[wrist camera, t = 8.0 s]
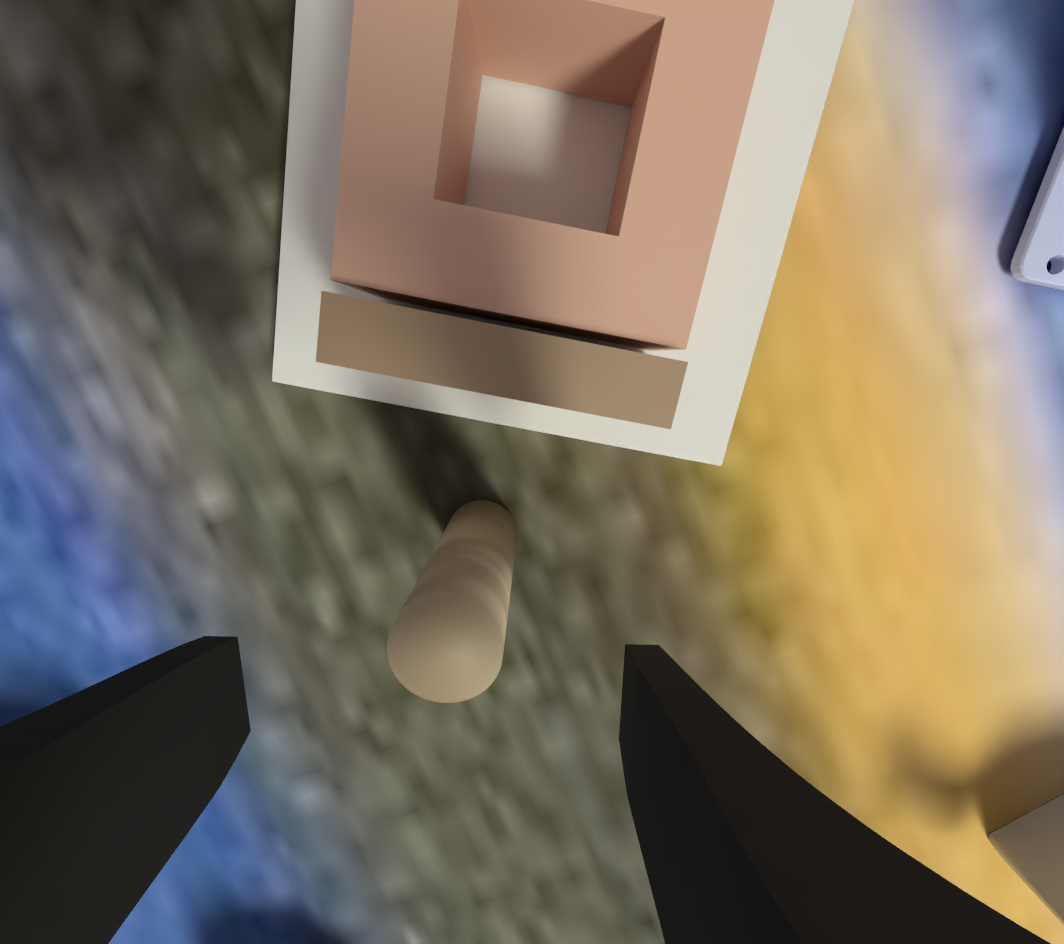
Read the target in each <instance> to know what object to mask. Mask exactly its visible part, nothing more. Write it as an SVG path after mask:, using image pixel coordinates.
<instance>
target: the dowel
mask: <svg viewBox="0 0 1064 944" xmlns="http://www.w3.org/2000/svg"><path fill="white" fill-rule="evenodd" d="M516 541H517V527H516V524H515V521H514V519H513V517H512V516H511V514H510V513H509V512H508V511H507V510H506V509H505V508H504V507H502V506H501V505H499V504H497V503H495V502H492V501H487V500H476V501H472V502H469V503H466V504H464V505H463V506H461V507H460V508H459V509H458V510H457V511H456V512H455V513H454V514H453V516H452V518H451V519H450V521H449V523H448V525H447V527H446V529H445V531H444V532H443V534H442V536H441V538H440V540H439V542H438V544H437V545H436V547H435V549H434V551H433V553H432V555H431V557H430V558H429V560H428V562H427V564H426V566H425V568H424V570H423V571H422V573H421V575H420V577H419V579H418V581H417V583H416V584H415V586H414V588H413V590H412V592H411V594H410V595H409V597H408V599H407V601H406V603H405V605H404V607H403V608H402V610H401V612H400V614H399V616H398V618H397V620H396V621H395V623H394V625H393V627H392V629H391V631H390V634H389V637H388V642H387V656H388V661H389V664H390V667H391V669H392V671H393V673H394V675H395V676H396V677H397V679H398V680H399V681H400V682H401V683H402V684H403V686H405V687H406V688H407V689H408V690H409V691H411V692H413V693H414V694H416V695H418V696H420V697H422V698H424V699H427V700H430V701H435V702H442V703H454V702H460V701H465V700H468V699H471V698H473V697H475V696H477V695H479V694H480V693H482V692H483V691H485V690H486V689H487V688H488V687H489V686H490V685H491V684H492V683H493V681H494V680H495V678H496V677H497V675H498V673H499V670H500V668H501V664H502V658H503V649H504V641H505V633H506V624H507V616H508V608H509V599H510V591H511V583H512V574H513V566H514V558H515V549H516Z"/></svg>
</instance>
